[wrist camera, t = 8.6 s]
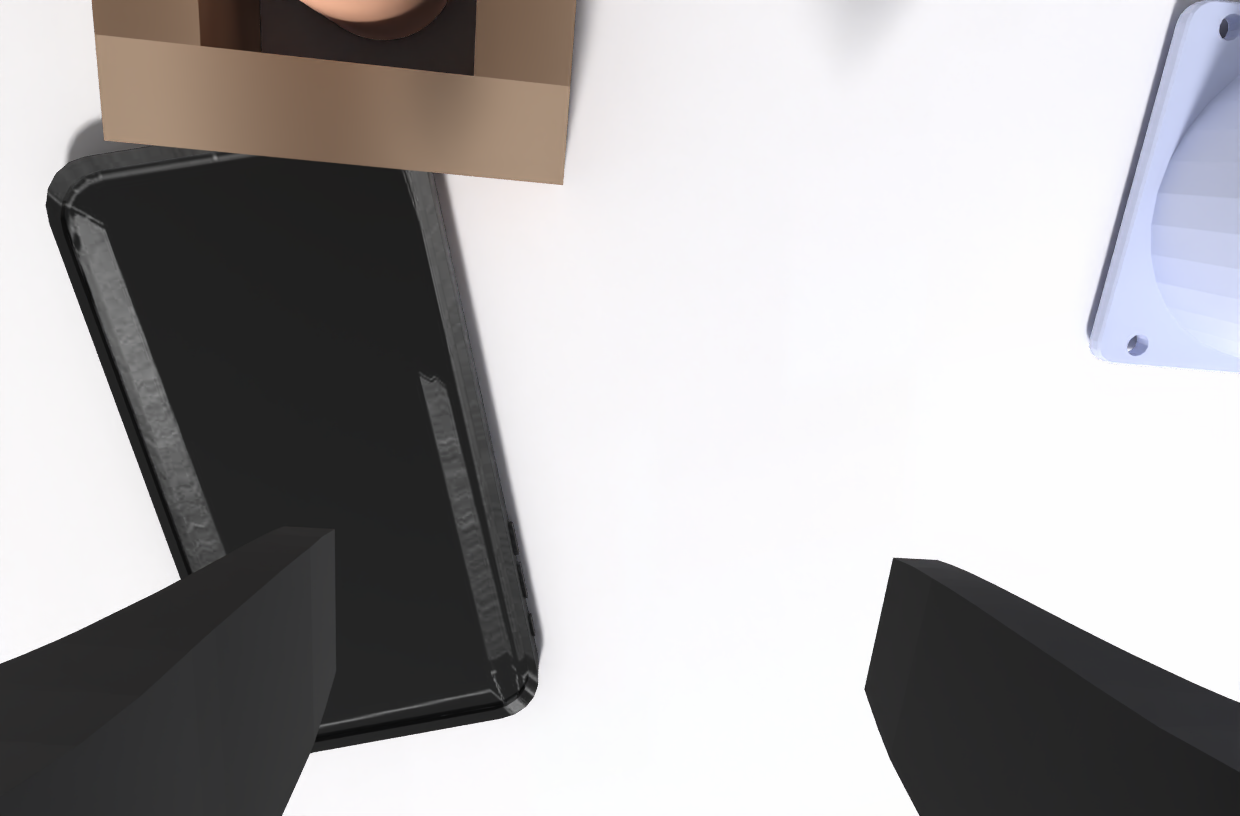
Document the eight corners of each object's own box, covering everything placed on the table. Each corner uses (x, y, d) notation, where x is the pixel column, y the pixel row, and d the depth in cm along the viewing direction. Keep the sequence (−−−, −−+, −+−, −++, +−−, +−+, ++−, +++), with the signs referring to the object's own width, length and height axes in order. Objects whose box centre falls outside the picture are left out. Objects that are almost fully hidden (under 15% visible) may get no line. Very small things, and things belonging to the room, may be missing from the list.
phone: (248, 764, 21) (26, 166, 16) (264, 734, 22) (59, 164, 17) (549, 709, 21) (417, 103, 16) (550, 682, 22) (425, 106, 17)
